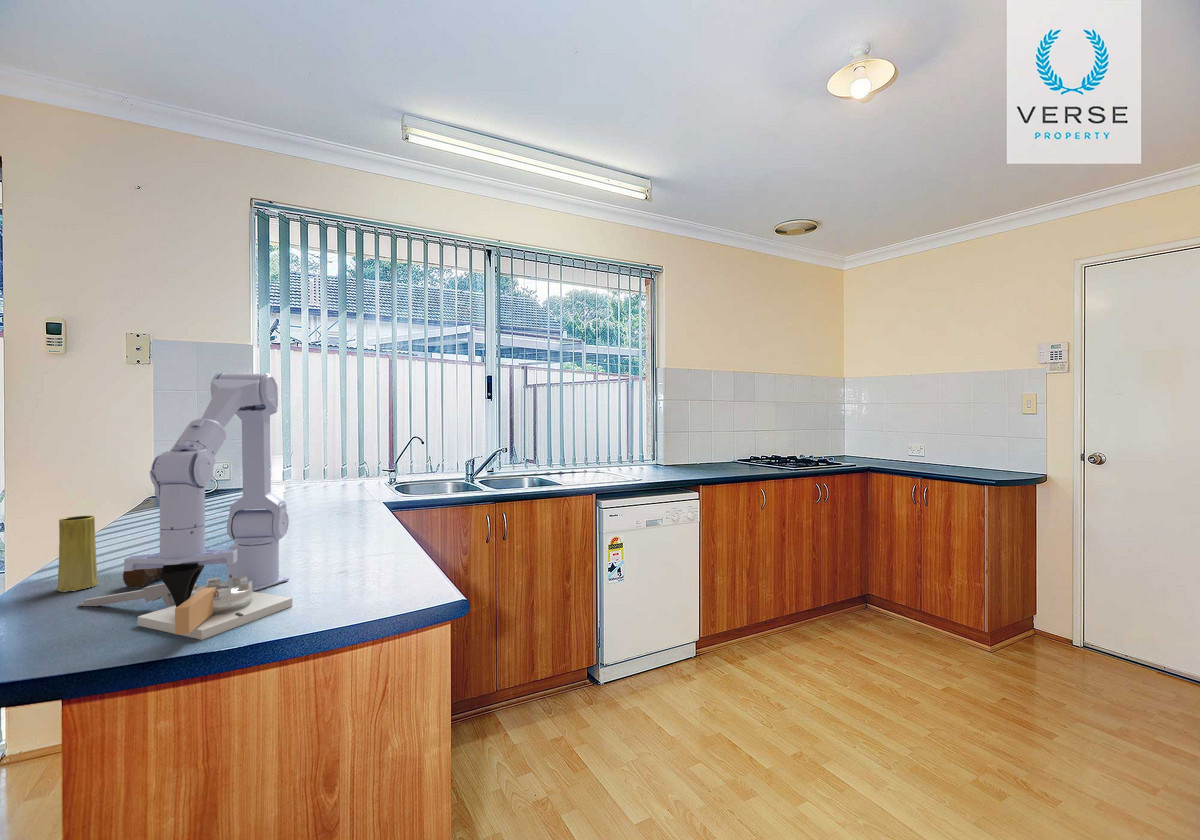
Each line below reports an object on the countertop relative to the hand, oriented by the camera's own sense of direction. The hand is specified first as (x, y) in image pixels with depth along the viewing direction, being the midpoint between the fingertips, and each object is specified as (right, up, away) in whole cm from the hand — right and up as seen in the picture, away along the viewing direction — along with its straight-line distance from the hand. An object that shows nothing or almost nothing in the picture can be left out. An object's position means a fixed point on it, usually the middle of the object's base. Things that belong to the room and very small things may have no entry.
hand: (182, 611), depth 86 cm
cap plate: (-1, -4, +9) cm, 10 cm away
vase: (-40, -4, +24) cm, 47 cm away
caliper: (-20, -4, +13) cm, 24 cm away
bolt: (-28, -4, +32) cm, 42 cm away
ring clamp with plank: (0, -2, +5) cm, 5 cm away
